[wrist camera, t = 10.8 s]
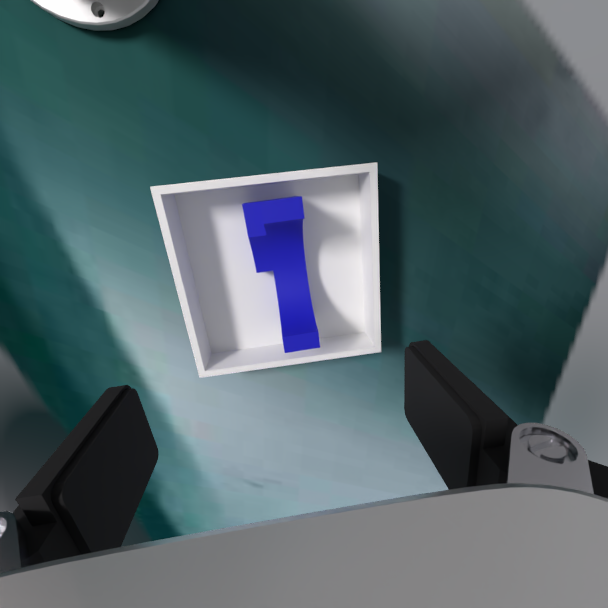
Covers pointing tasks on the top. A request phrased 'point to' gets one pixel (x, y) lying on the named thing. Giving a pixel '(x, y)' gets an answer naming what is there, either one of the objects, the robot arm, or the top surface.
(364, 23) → the top surface
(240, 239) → the tray
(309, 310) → the cable clip
